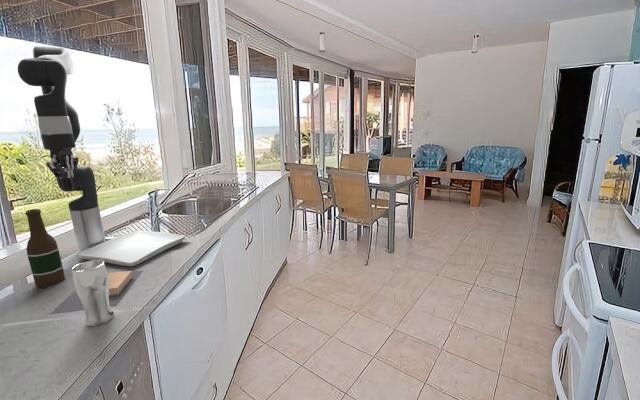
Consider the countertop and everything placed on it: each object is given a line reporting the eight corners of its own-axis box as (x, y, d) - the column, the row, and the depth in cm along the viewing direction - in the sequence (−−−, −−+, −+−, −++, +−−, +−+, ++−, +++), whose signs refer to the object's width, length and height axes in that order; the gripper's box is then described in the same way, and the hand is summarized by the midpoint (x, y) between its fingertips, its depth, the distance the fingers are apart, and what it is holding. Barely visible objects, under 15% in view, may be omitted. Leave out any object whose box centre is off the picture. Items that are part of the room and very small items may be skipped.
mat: (90, 277, 107) (90, 275, 107) (143, 271, 110) (143, 270, 109) (50, 315, 86) (49, 313, 86) (116, 307, 89) (116, 305, 88)
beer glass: (110, 308, 88) (99, 256, 85) (120, 317, 84) (109, 263, 80) (79, 321, 83) (66, 266, 79) (88, 331, 79) (75, 274, 75)
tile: (100, 273, 102) (82, 291, 92) (131, 270, 104) (117, 287, 93) (101, 281, 103) (84, 299, 92) (132, 277, 104) (119, 295, 94)
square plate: (75, 263, 119) (73, 253, 118) (138, 237, 144) (136, 229, 143) (132, 272, 110) (130, 261, 109) (188, 242, 135) (187, 234, 134)
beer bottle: (29, 290, 99) (9, 214, 94) (43, 279, 107) (24, 208, 101) (59, 286, 101) (41, 212, 96) (70, 275, 109) (54, 205, 103)
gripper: (55, 132, 102) (68, 186, 106) (27, 134, 89) (42, 195, 94) (82, 131, 103) (93, 185, 108) (58, 132, 91) (71, 193, 95)
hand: (69, 190), depth 101 cm, fingers closed
